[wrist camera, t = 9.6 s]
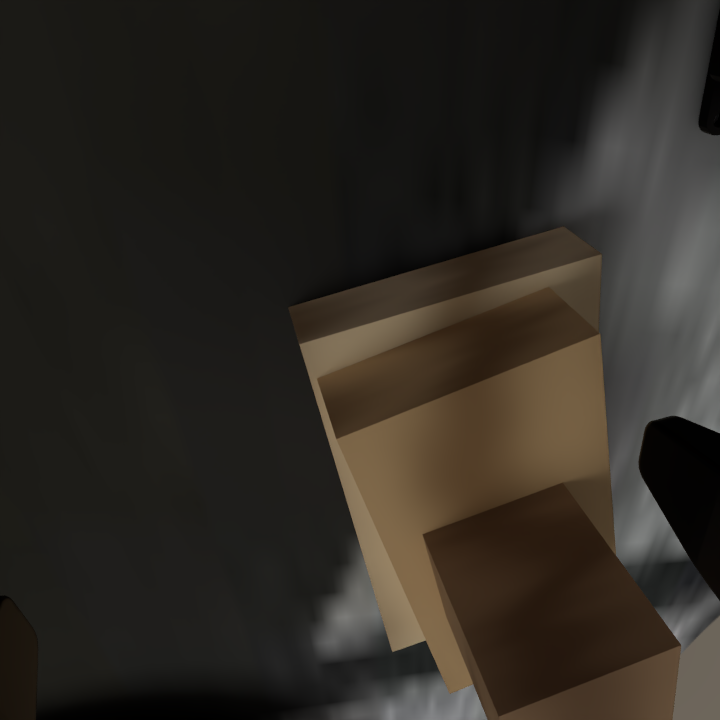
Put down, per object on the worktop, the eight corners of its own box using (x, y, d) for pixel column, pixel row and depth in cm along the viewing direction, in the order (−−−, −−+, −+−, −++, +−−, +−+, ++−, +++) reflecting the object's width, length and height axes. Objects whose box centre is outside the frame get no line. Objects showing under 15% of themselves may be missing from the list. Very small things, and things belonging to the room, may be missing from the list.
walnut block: (562, 482, 21) (681, 645, 16) (569, 570, 24) (671, 730, 19) (422, 534, 20) (498, 716, 15) (446, 616, 23) (517, 792, 18)
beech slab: (555, 220, 22) (602, 254, 20) (556, 536, 33) (587, 584, 30) (285, 299, 21) (299, 344, 19) (376, 597, 32) (392, 651, 29)
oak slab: (548, 286, 20) (600, 333, 17) (583, 567, 29) (620, 623, 27) (316, 378, 20) (336, 439, 17) (427, 631, 29) (450, 693, 27)
